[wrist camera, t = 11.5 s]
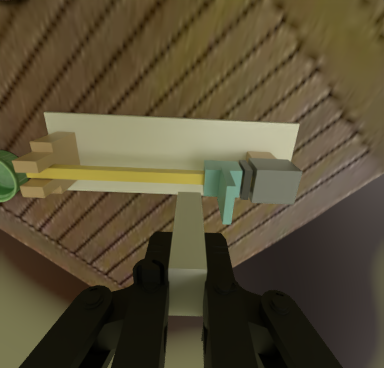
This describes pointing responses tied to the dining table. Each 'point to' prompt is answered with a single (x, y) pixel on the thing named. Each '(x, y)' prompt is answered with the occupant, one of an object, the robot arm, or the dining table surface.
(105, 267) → the dining table surface
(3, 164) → the ramekin
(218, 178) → the sleeve
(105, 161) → the cord rig
